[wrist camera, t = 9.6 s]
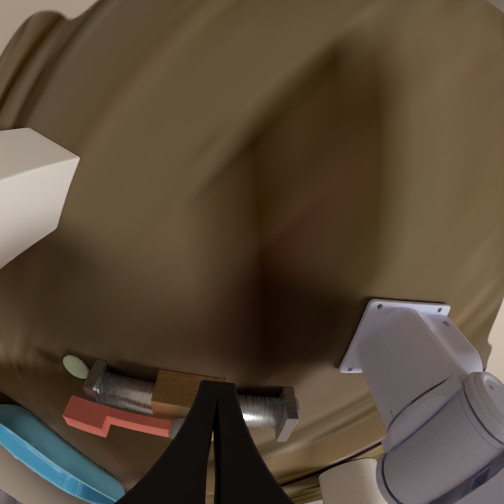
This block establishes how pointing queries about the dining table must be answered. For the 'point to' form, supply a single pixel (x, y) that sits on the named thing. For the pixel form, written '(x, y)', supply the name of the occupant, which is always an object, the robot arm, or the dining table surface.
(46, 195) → the milk
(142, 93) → the dining table surface
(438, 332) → the robot arm
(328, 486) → the toilet tissue
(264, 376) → the dining table surface
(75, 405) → the lever
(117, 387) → the valve body
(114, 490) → the casserole dish
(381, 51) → the dining table surface
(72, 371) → the pale green round disc
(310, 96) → the dining table surface
